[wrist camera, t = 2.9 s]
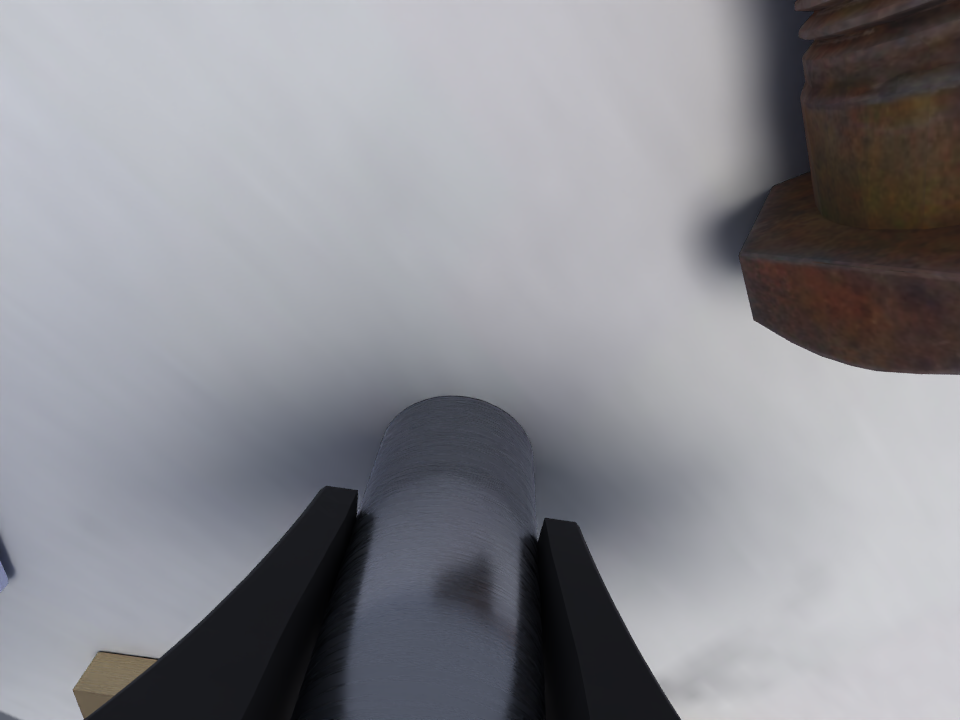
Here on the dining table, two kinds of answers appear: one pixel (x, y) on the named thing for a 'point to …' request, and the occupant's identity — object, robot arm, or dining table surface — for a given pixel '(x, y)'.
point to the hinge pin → (437, 579)
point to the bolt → (870, 193)
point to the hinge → (107, 679)
